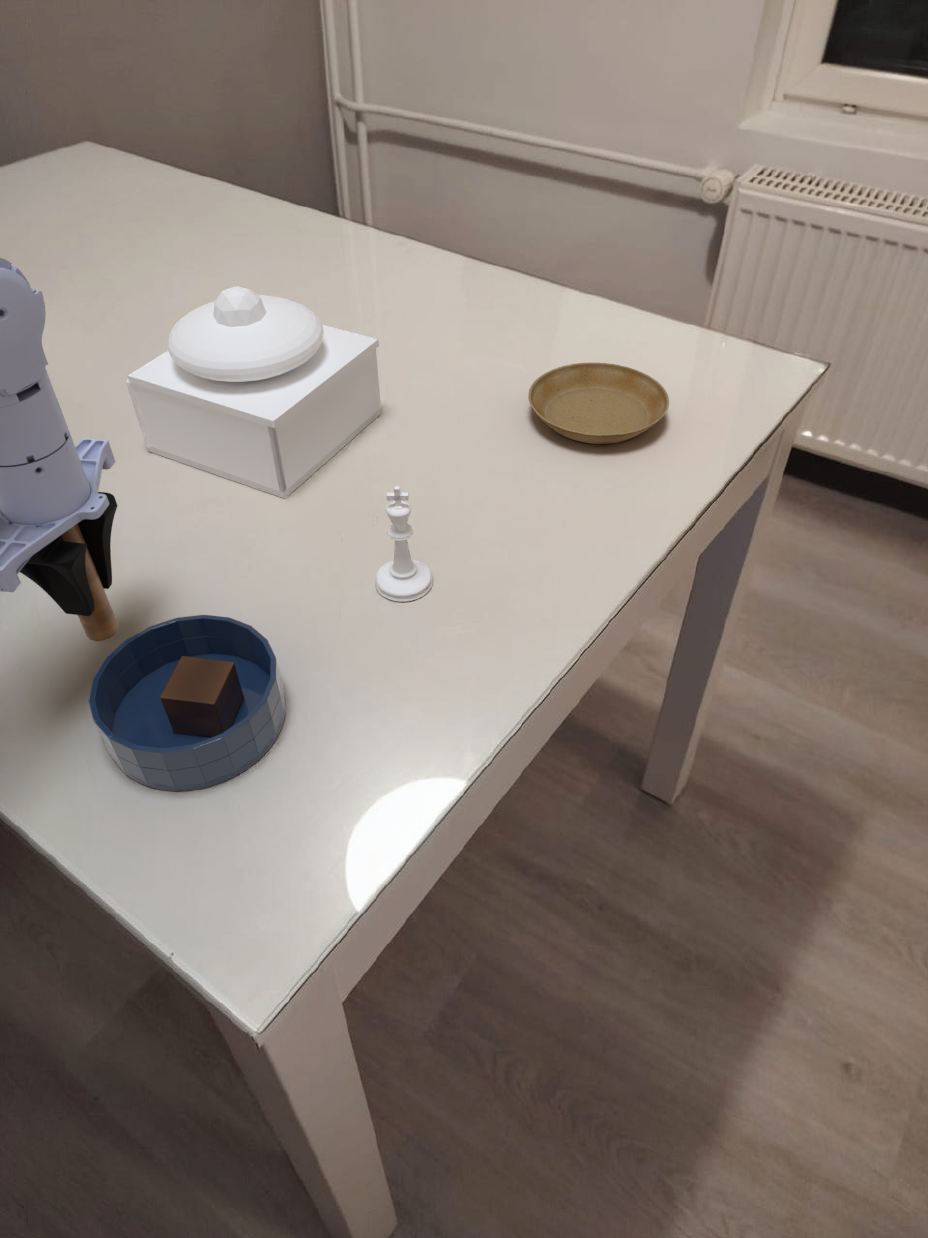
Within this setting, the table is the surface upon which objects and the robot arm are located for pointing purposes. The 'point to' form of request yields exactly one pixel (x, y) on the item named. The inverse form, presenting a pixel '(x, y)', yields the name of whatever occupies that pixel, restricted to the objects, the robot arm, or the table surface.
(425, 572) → the chess piece
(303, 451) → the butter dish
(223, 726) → the block
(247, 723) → the bowl
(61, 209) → the table surface
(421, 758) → the table surface
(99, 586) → the rod
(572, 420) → the plant saucer
